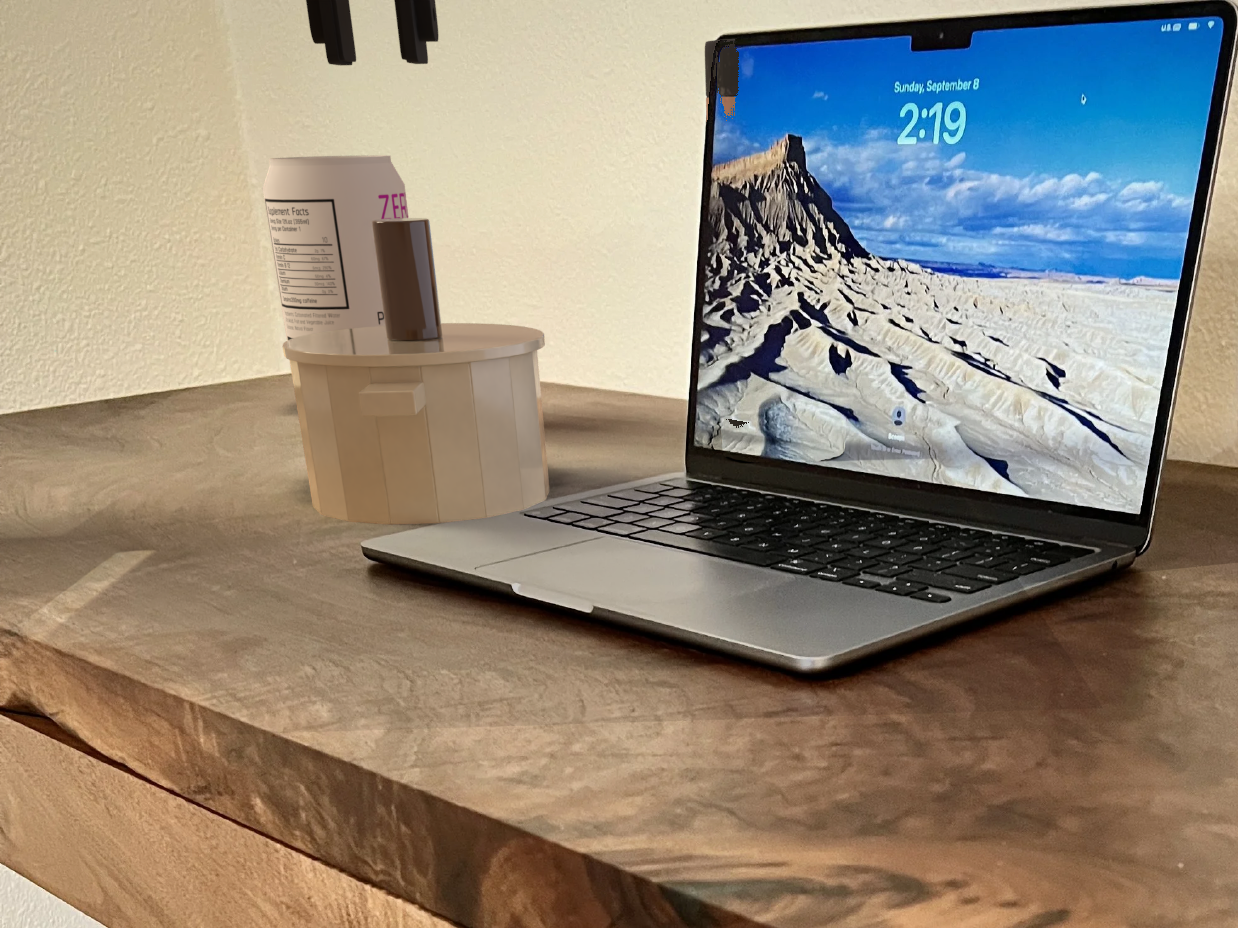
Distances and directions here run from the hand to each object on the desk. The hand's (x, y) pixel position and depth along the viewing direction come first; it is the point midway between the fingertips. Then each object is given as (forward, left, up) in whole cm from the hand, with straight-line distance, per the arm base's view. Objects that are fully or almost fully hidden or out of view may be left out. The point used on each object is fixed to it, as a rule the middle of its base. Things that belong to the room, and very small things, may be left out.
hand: (378, 59), depth 71 cm
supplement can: (-8, +26, -19) cm, 33 cm away
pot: (0, 0, -19) cm, 19 cm away
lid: (0, 0, -12) cm, 12 cm away
